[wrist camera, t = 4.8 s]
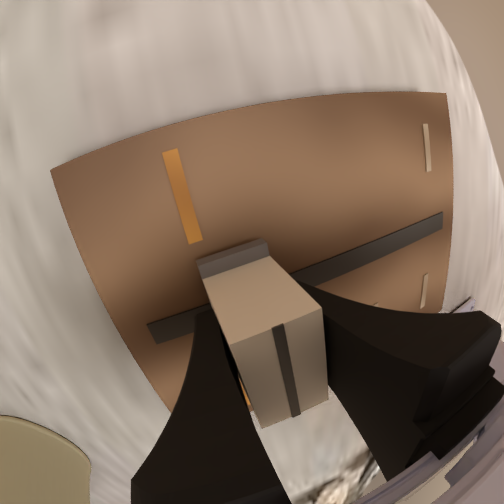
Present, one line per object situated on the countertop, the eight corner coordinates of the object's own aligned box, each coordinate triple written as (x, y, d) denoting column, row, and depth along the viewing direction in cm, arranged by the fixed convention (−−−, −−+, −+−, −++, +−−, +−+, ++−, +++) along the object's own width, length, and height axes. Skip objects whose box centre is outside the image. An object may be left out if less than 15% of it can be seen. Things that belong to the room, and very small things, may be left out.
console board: (422, 297, 19) (442, 310, 17) (180, 406, 15) (186, 434, 13) (419, 93, 13) (447, 93, 11) (66, 165, 9) (48, 170, 7)
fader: (283, 342, 12) (329, 407, 9) (232, 362, 12) (265, 436, 8) (261, 238, 10) (321, 291, 7) (195, 260, 10) (223, 330, 6)
